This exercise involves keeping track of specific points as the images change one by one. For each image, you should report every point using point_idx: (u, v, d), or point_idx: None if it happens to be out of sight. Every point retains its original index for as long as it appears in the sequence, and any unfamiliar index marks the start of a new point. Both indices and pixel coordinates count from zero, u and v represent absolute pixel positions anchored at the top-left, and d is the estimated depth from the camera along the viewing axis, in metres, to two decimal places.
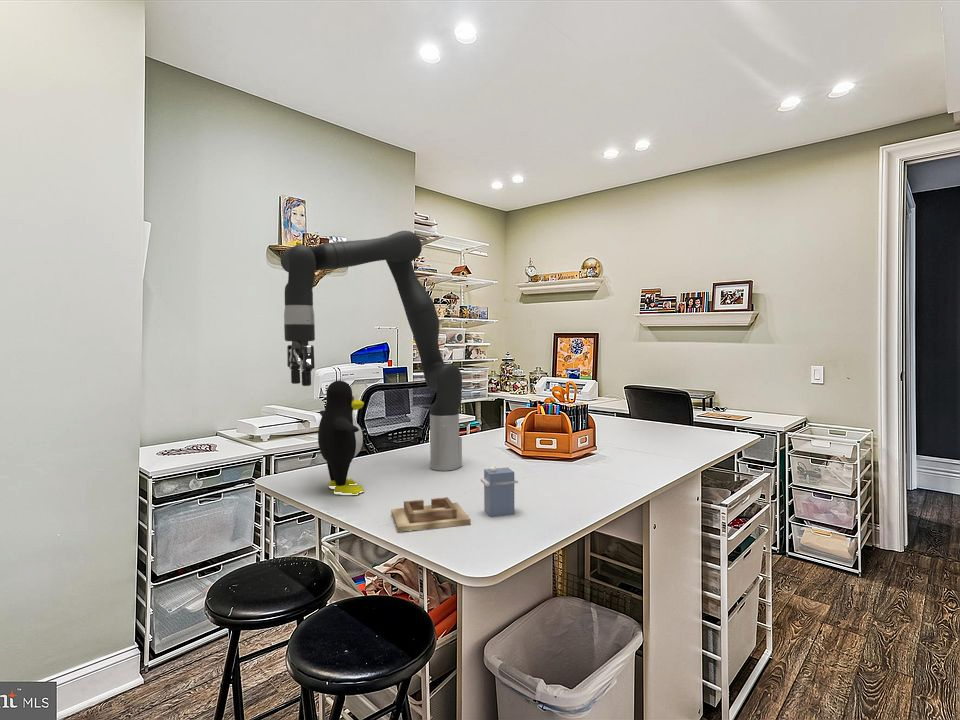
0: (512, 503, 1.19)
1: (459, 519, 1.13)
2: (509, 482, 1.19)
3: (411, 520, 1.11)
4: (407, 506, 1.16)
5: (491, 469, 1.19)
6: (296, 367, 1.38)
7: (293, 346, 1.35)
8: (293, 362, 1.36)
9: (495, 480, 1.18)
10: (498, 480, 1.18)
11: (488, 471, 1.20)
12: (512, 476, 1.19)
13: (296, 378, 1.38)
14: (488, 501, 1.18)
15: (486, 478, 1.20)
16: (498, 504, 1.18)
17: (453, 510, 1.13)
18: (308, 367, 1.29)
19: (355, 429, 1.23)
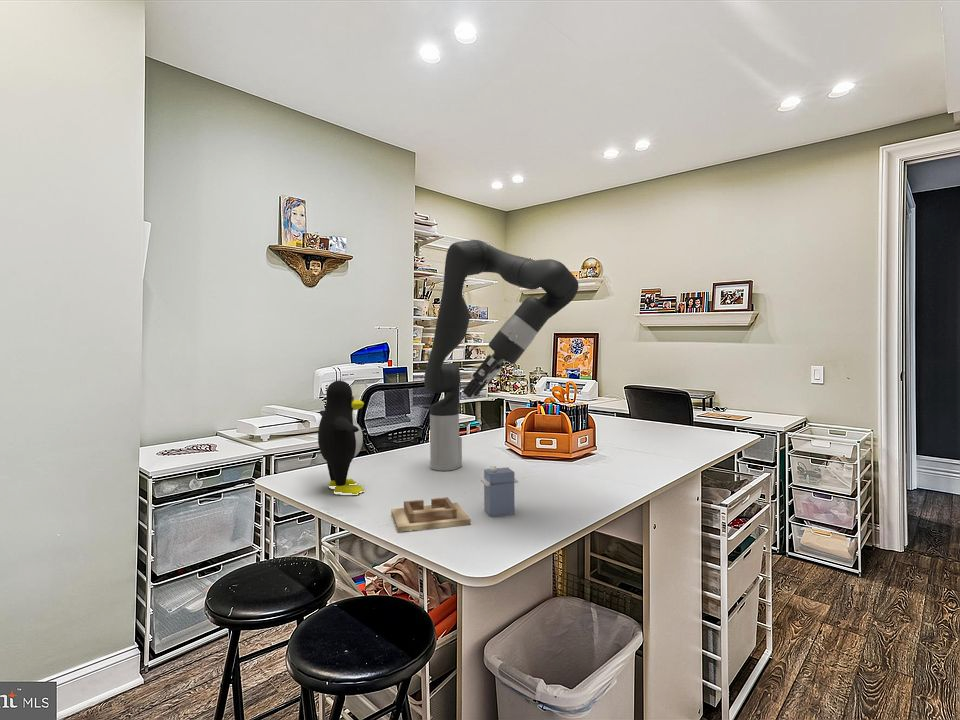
0: (512, 503, 1.19)
1: (459, 519, 1.13)
2: (509, 482, 1.19)
3: (411, 520, 1.11)
4: (407, 506, 1.16)
5: (491, 469, 1.19)
6: None
7: (499, 362, 1.15)
8: None
9: (495, 480, 1.18)
10: (498, 480, 1.18)
11: (488, 471, 1.20)
12: (512, 476, 1.19)
13: None
14: (488, 501, 1.18)
15: (486, 478, 1.20)
16: (498, 504, 1.18)
17: (453, 510, 1.13)
18: None
19: (355, 429, 1.23)
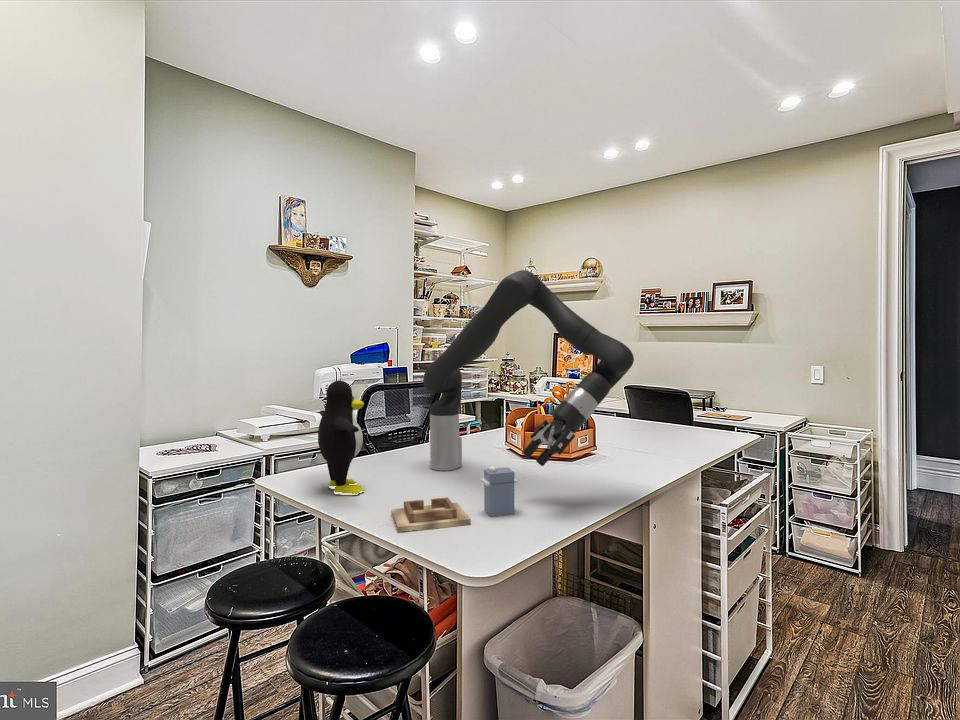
0: (512, 503, 1.19)
1: (459, 519, 1.13)
2: (509, 482, 1.19)
3: (411, 520, 1.11)
4: (407, 506, 1.16)
5: (491, 469, 1.19)
6: None
7: None
8: None
9: (495, 480, 1.18)
10: (498, 480, 1.18)
11: (488, 471, 1.20)
12: (512, 476, 1.19)
13: None
14: (488, 501, 1.18)
15: (486, 478, 1.20)
16: (498, 504, 1.18)
17: (453, 510, 1.13)
18: None
19: (355, 429, 1.23)
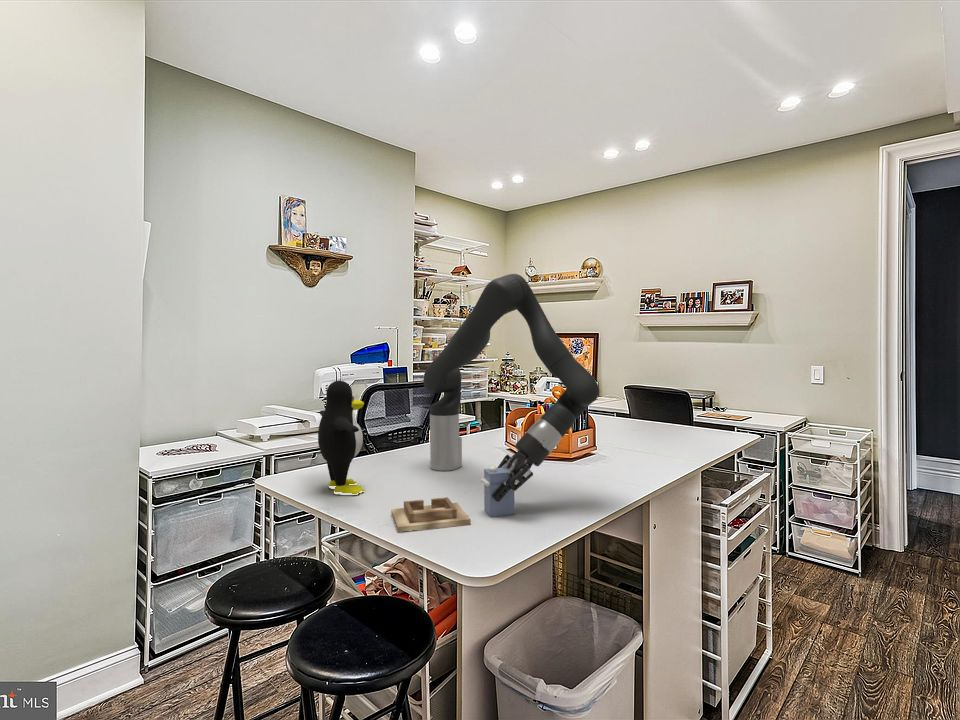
0: (512, 503, 1.19)
1: (459, 519, 1.13)
2: None
3: (411, 520, 1.11)
4: (407, 506, 1.16)
5: (491, 469, 1.19)
6: None
7: None
8: None
9: (495, 480, 1.18)
10: (498, 480, 1.18)
11: (488, 471, 1.20)
12: None
13: None
14: (488, 501, 1.18)
15: (486, 478, 1.20)
16: (498, 504, 1.18)
17: (453, 510, 1.13)
18: None
19: (355, 429, 1.23)
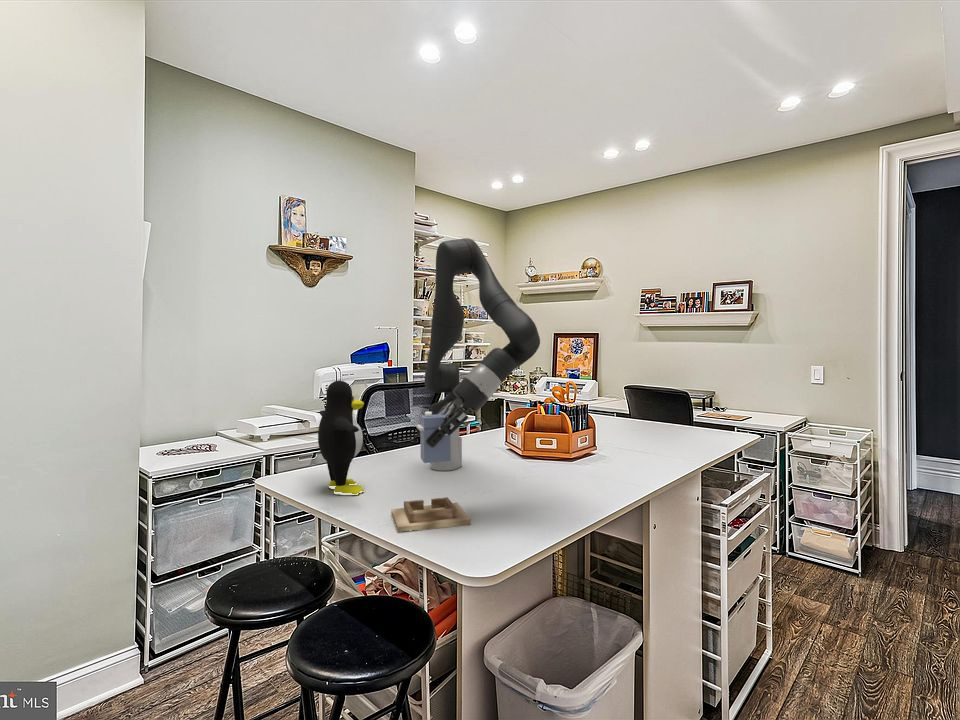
0: (448, 449, 1.15)
1: (459, 519, 1.13)
2: None
3: (411, 520, 1.11)
4: (407, 506, 1.16)
5: (426, 414, 1.15)
6: None
7: None
8: None
9: (429, 425, 1.13)
10: (433, 425, 1.13)
11: (423, 416, 1.15)
12: None
13: None
14: (423, 447, 1.14)
15: (421, 424, 1.15)
16: (433, 450, 1.14)
17: (453, 510, 1.13)
18: None
19: (355, 429, 1.23)
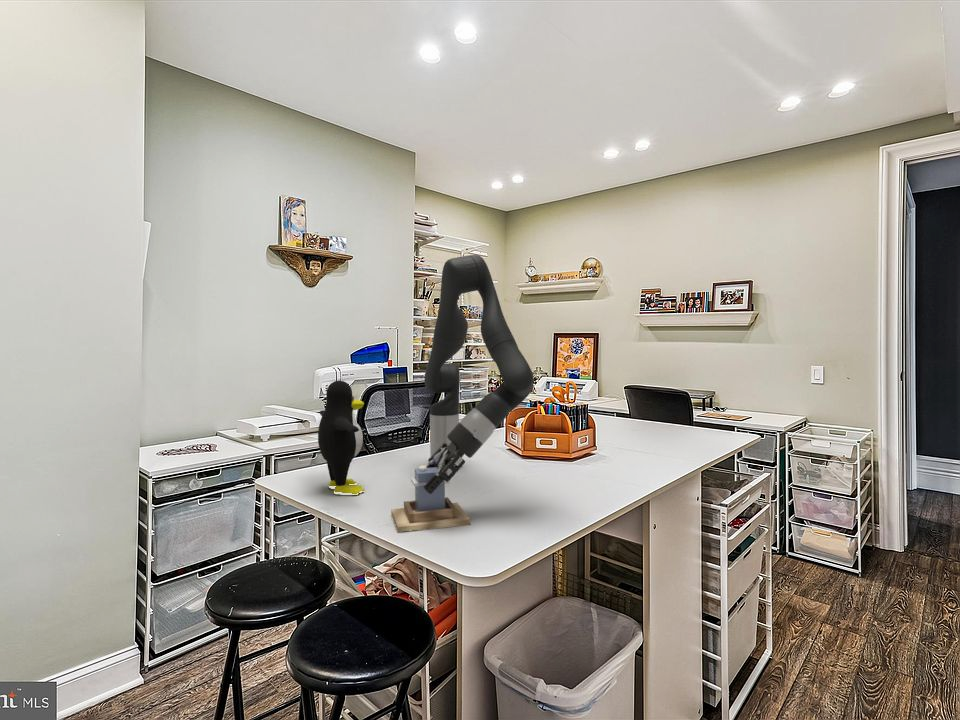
0: (442, 504, 1.15)
1: (459, 519, 1.13)
2: None
3: (411, 520, 1.11)
4: (407, 506, 1.16)
5: (421, 469, 1.15)
6: None
7: None
8: None
9: (424, 480, 1.14)
10: (427, 480, 1.14)
11: (418, 471, 1.16)
12: None
13: None
14: (417, 502, 1.14)
15: (416, 478, 1.16)
16: (428, 505, 1.14)
17: (453, 510, 1.13)
18: None
19: (355, 429, 1.23)
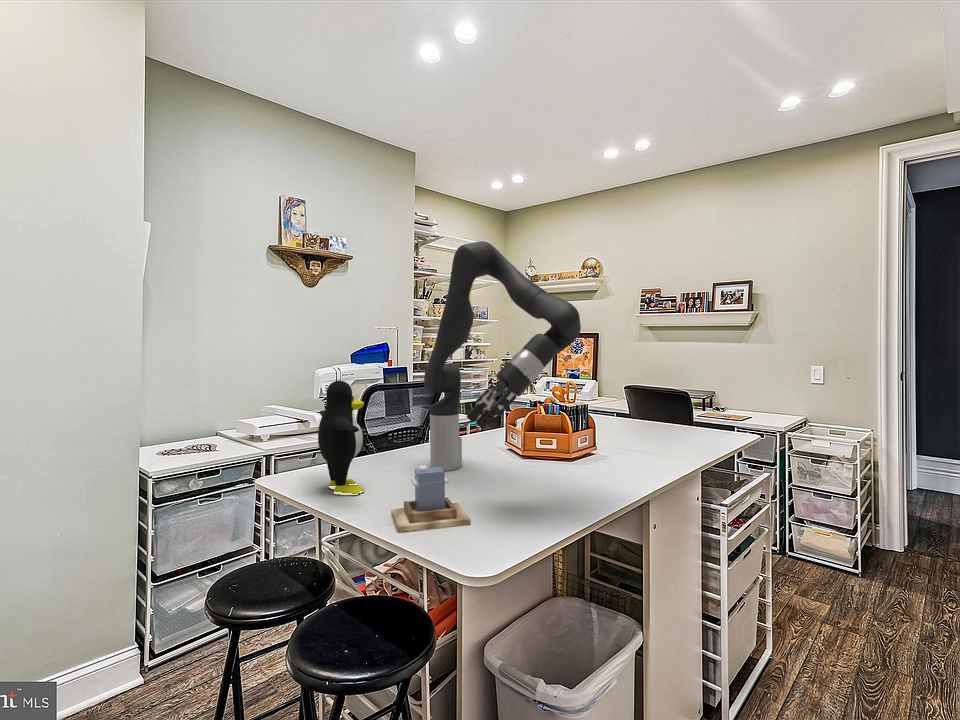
0: (442, 504, 1.15)
1: (459, 519, 1.13)
2: (439, 482, 1.15)
3: (411, 520, 1.11)
4: (407, 506, 1.16)
5: (421, 469, 1.15)
6: None
7: None
8: None
9: (424, 480, 1.14)
10: (427, 480, 1.14)
11: (418, 471, 1.16)
12: (442, 476, 1.15)
13: None
14: (417, 502, 1.14)
15: (416, 478, 1.16)
16: (428, 505, 1.14)
17: (453, 510, 1.13)
18: None
19: (355, 429, 1.23)
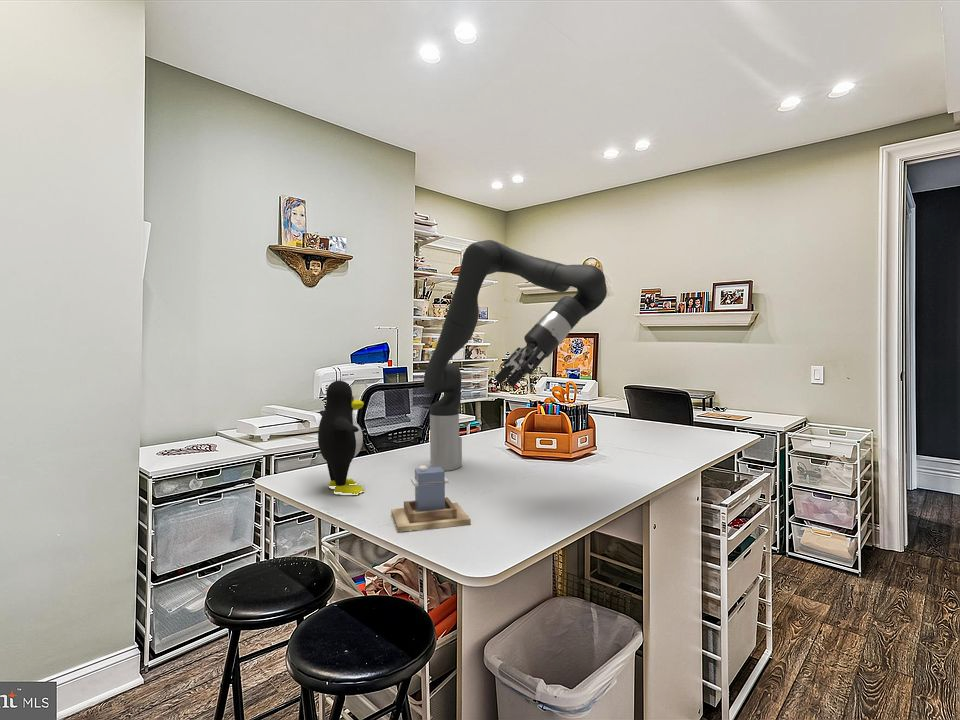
0: (442, 504, 1.15)
1: (459, 519, 1.13)
2: (439, 482, 1.15)
3: (411, 520, 1.11)
4: (407, 506, 1.16)
5: (421, 469, 1.15)
6: None
7: None
8: None
9: (424, 480, 1.14)
10: (427, 480, 1.14)
11: (418, 471, 1.16)
12: (442, 476, 1.15)
13: None
14: (417, 502, 1.14)
15: (416, 478, 1.16)
16: (428, 505, 1.14)
17: (453, 510, 1.13)
18: None
19: (355, 429, 1.23)
